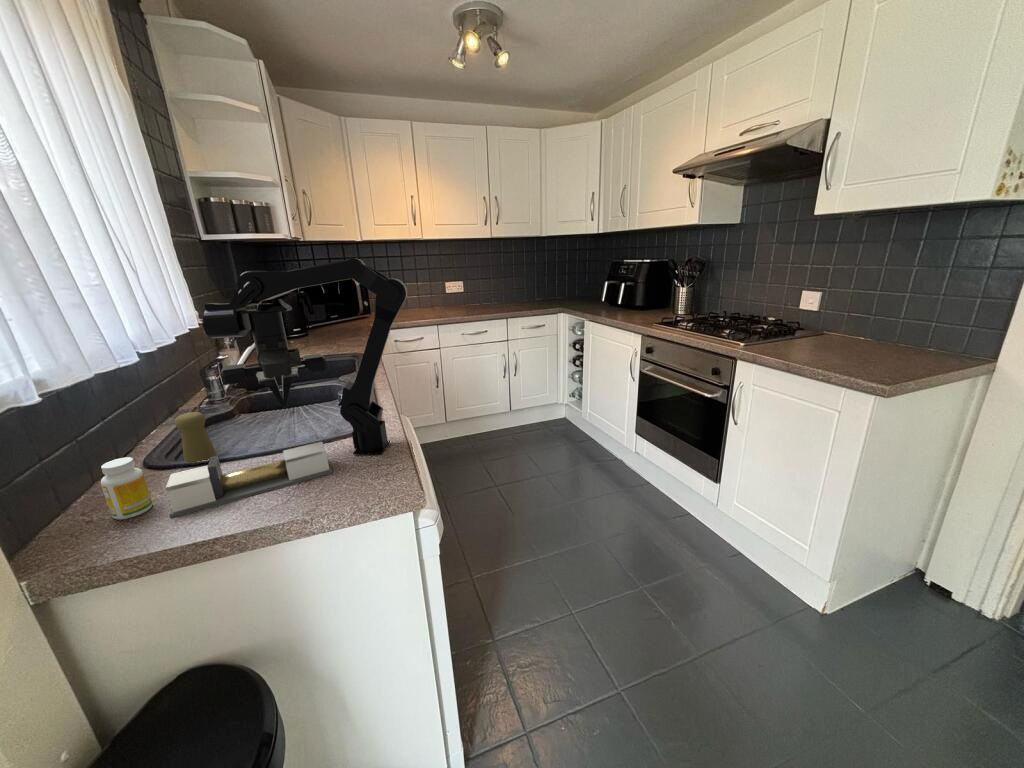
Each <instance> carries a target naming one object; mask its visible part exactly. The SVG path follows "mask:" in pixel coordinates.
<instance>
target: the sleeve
mask: <svg viewBox="0 0 1024 768" xmlns="http://www.w3.org/2000/svg"><path fill="white" fill-rule="evenodd" d="M282 452H283V457H284V460H285V463H286V468H287V472H288V477H289V480H293V479H297V478H300V477H304V476H308V475H312V474H315V473H319V472H323V471H326V470H329V465H328V462H329V460H328V454H327V450H326V448H325V445H324V443H323V441H319V442H313V443H311V444H305V445H301V446H297V447H294V448H288V449H285V450H282Z"/></svg>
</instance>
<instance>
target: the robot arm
mask: <svg viewBox="0 0 1024 768" xmlns="http://www.w3.org/2000/svg"><path fill="white" fill-rule="evenodd" d="M346 280H354V281H356V282H357V283H359V285H361V286H363V287H364V288H366V289H367V290H369V292H371V293H372V294H375V303H374V319H373V321H372V322H373V323H372V326H371V329H370V332H369V335H368V339H367V342H366V346H365V348H364V352H363V354H362V358H361V361H360V364H359V368H358V371H357V374H356V377H355V380H354V381H353V382H352V381H350V380H348V381H347V382H346V384H345V386H344V387H343V388H342V393H341V396H342V397H341V399H340V401H339V402H338V404H337V406H338V407H340V409H339V413H340V414H339V415H341V417H342V418H343V420H345V421H346V422H348V423H349V424H350V426H351V427H352V430H353V431H352V432H351V436H352V442H353V443H352V444H353V448H354V451H353V452H352V453H353V455H354V454H372V455H382V454H383V453H384V452H385V451H386V449H387V448H388V447H387V446H389V445H390V444H391V443H390V441H391V440H388V435H387V429H386V421H385V420H381V418H382V416H383V411H384V408H383V407H382V406H381V405H379V404H378V403H377V402H375V401H373V399H374V391H375V390H374V389H375V388H374V387H375V380H376V376H377V373H378V371H379V366H380V364H381V361H382V357H383V354H384V351H385V348H386V345H387V341H388V338H389V336H390V333H391V330H392V326H393V323H394V322H395V320H396V318H397V316H398V314H399V312H400V310H401V308H402V307H403V305H404V303H405V301H406V300H407V297H408V288H407V286H406V284H405V283H404V282H403V280H400V279H399V278H393V277H392V278H391V277H390V278H389V277H388V276H386V275H384V274H383V273H381V272H379V271H378V270H376V269H374V268H372V267H371V266H369V265H368V264H367V263H365V262H364V260H362V259H359V258H356V257H350V258H347V259H344V260H340V261H339V260H338V261H334V262H328V263H324V264H323V263H322V264H317V265H312V266H307V267H300V268H296V269H291V270H247V271H244V272H242V273H241V274H240V275H239V277H238V278H237V283H236V285H237V289H236V291H235V293H234V295H233V296H232V298H231V300H230V301H229V303H219V302H214V303H213V302H210V303H205V304H204V312H203V316H202V322H201V325H202V329H203V330H204V332H205V334H206V335H207V336H208V337H209V338H210V339H220V338H221V339H223V338H226V339H227V338H237V337H238V338H239V337H241V338H242V337H246V336H247V334H248V332H250V331H251V333H252V337H253V342H254V346H255V350H256V356H257V357H256V359H257V363H258V365H256V366H255V365H254V366H249V367H246V366H245V363H239V364H238V363H237V364H231V365H224V366H223V367H222V369H221V372H220V377H221V381H222V385H223V386H229V385H235V384H241V383H243V382H245V380H246V379H247V377H248V378H249V377H255V376H256V378H257V382H258V384H261V385H262V384H264V385H265V386H266V387H267V388H268V389H270V391H271V392H272V393H273V395H274V396H275V398H276V400H277V401H278V402H279V404H280V406H281V407H282V408H283V409H285V408H287V407H288V403H289V396H290V390H291V388H292V387H291V386H292V384H293V382H294V380H295V379H299V377H300V376H299V373H298V371H299V370H302V369H303V370H304V369H307V370H309V371H310V372H311V373H314V372H319V371H320V372H321V371H326V370H329V369H328V362H327V359H326V358H325V356H324V355H322V354H321V353H314V354H305V355H302V356H303V357H302V358H303V359H301V354H300V350H299V348H298V347H297V348H290V349H289V344H288V340H287V335H286V330H285V325H284V324H285V323H284V320H283V315H282V313H283V312H288V311H292V309H293V307H292V306H291V305H290V304H288V303H286V302H285V301H284V300H283V299H282V298H279V299H276V300H275V302H274V303H273V302H271V303H262V302H264V301H268V300H272V299H275V298H278V297H281V296H284V295H286V294H288V293H291V292H293V291H295V290H298V289H302V288H307V287H313V286H314V287H315V286H320V285H324V284H330V283H335V282H339V281H346ZM251 306H257V307H256V309H247V307H251ZM276 377H281V387H282V388H281V390H282V393H281V391H280V388H279V385H278V382H277V380H276ZM388 441H389V442H388ZM389 443H390V444H389ZM388 444H389V445H388ZM386 447H387V448H386ZM385 448H386V449H385ZM383 451H384V452H383Z"/></svg>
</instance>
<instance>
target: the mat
mask: <svg viewBox="0 0 1024 768" xmlns="http://www.w3.org/2000/svg"><path fill="white" fill-rule="evenodd" d="M328 465H329V470H326V471H323V472H319V473H315V474H312V475H308V476H304V477H300V478H297V479H293V480H289V477H288V474H287V475H283V476H279V477H276V478H272V479H268V480H264V481H260V482H257V483H253V484H249V485H245V486H241V487H238V488H234V489H230V490H226V491H225V492H224V496H223V497H219V498H216V501H213V502H210V503H206V504H202V505H199V506H195V507H191V508H187V509H184V510H180V511H176V512H173V509H172V507H170V508H171V509H170V510H169V511H170V512H169V515H168V516H169V519H172V518H176V517H179V516H182V515H186V514H190V513H193V512H197V511H200V510H204V509H208V508H211V507H214V506H219V505H222V504H226V503H230V502H233V501H238V500H240V499H244V498H248V497H251V496H256V495H259V494H262V493H266V492H267V493H268V492H271V491H274V490H277V489H281V488H284V487H287V486H292V485H294V484H295V485H296V484H299V483H303V482H305V481H310V480H313V479H317V478H320V477H325V476H328V475H331V474H333V469H332V467H331V464H330V463H329V461H328ZM215 497H216V496H215Z"/></svg>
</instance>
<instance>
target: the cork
mask: <svg viewBox="0 0 1024 768" xmlns="http://www.w3.org/2000/svg"><path fill="white" fill-rule="evenodd" d="M205 423H206V416H205V415H204V414H203V413H202V412H198V411H193V412H192V411H191V412H190V411H189V412H187V413H183V414H179V415H178V416H177V417H175V420H174V425H175V427H176V428H177V430H178V431H180V434H181V435H180V437H181V438H180V439H181V445H182V455H183V462H188V463H193V462H197V461H202V460H208V459H210V457H214V456H218V453H217V451H216V450H215V447H214V444H213V443H212V441H211V437H210V436H209V434H208V432H207V429H206V427H205ZM218 457H219V456H218Z"/></svg>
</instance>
